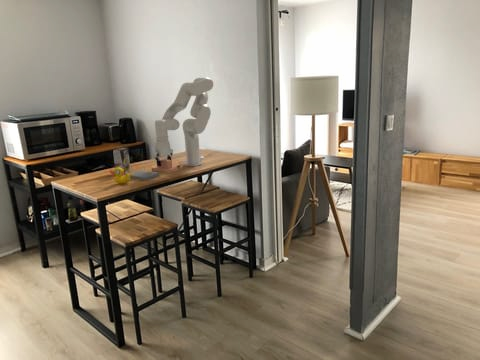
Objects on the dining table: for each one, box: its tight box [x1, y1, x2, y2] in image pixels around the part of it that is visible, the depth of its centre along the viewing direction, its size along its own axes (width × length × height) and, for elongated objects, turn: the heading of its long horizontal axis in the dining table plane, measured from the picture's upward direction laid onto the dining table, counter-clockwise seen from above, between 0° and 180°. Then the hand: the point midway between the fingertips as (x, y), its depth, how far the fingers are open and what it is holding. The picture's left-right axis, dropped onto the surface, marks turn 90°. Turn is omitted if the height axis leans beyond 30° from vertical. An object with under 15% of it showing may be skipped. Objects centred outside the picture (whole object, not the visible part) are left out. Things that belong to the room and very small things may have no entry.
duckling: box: [109, 167, 131, 185], centre depth 231 cm, size 11×5×10 cm, turn 95°
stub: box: [151, 158, 179, 174], centre depth 260 cm, size 8×16×7 cm, turn 56°
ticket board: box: [129, 169, 160, 182], centre depth 246 cm, size 12×16×2 cm
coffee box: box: [112, 147, 131, 176], centre depth 256 cm, size 9×6×16 cm
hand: (164, 164), depth 260 cm, fingers open, 9 cm apart
